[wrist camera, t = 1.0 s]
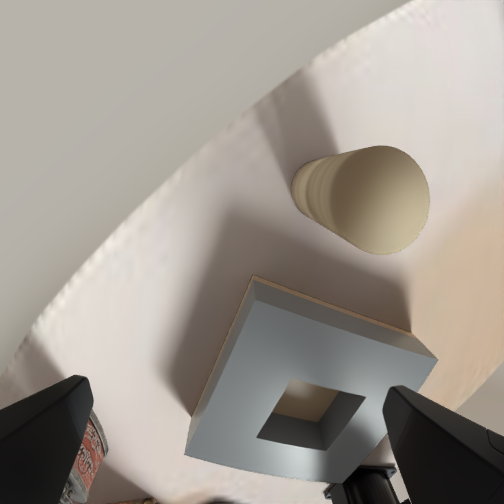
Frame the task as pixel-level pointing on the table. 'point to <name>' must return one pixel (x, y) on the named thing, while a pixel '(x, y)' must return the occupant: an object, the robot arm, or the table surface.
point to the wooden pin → (365, 197)
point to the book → (139, 501)
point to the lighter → (86, 463)
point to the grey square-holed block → (301, 387)
